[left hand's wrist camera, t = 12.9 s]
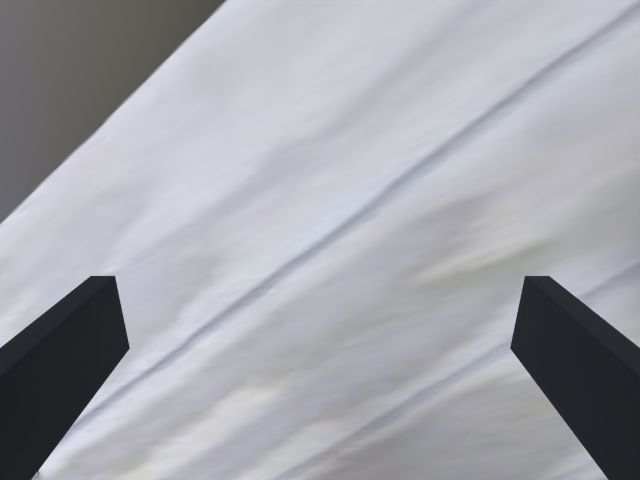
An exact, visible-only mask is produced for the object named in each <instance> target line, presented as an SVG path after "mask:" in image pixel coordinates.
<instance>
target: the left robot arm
mask: <svg viewBox="0 0 640 480" xmlns="http://www.w3.org/2000/svg"><path fill="white" fill-rule="evenodd" d="M129 349H130V348H129V343H128V338H127V333H126V328H125V323H124V318H123V313H122V308H121V304H120V299H119V294H118V289H117V284H116V279H115V276H90V277H89V278H88V279H87V280H85V281H84V282H83V283H82V284H80V285H79V286H78V287H77V288H75V289H74V290H73V291H71V292H70V293H69V294H68V295H66V296H65V297H64V298H63V299H61V300H60V301H59V302H58V303H56V304H55V305H54V306H53V307H51V308H50V309H49V310H48V311H46V312H45V313H44V314H43V315H41V316H40V317H39V318H38V319H36V320H35V321H34V322H32V323H31V324H30V325H29V326H27V327H26V328H25V329H24V330H22V331H21V332H20V333H19V334H17V335H16V336H15V337H14V338H12V339H11V340H10V341H9V342H7V343H6V344H5V345H4V346H2V347H1V348H0V480H31V479H32V478H33V477H34V475H35V474H36V473H37V471H38V470H39V469H40V467H41V466H42V465H43V463H44V462H45V461H46V459H47V458H48V457H49V455H50V454H51V453H52V451H53V450H54V449H55V447H56V446H57V445H58V443H59V442H60V441H61V439H62V438H63V437H64V435H65V434H66V433H67V431H68V430H69V429H70V427H71V426H72V425H73V423H74V422H75V421H76V419H77V418H78V417H79V415H80V414H81V413H82V411H83V410H84V409H85V407H86V406H87V405H88V403H89V402H90V401H91V399H92V398H93V397H94V395H95V394H96V393H97V391H98V390H99V389H100V387H101V386H102V385H103V383H104V382H105V381H106V379H107V378H108V377H109V375H110V374H111V373H112V371H113V370H114V369H115V367H116V366H117V365H118V363H119V362H120V361H121V359H122V358H123V357H124V355H125V354H126V353H127V351H128V350H129ZM510 349H511V350H512V351H513V353H514V354H515V355H516V357H517V358H518V359H519V361H520V362H521V363H522V365H523V366H524V367H525V369H526V370H527V371H528V373H529V374H530V375H531V377H532V378H533V379H534V381H535V382H536V383H537V385H538V386H539V387H540V389H541V390H542V391H543V393H544V394H545V395H546V397H547V398H548V399H549V401H550V402H551V403H552V405H553V406H554V407H555V409H556V410H557V411H558V413H559V414H560V415H561V417H562V418H563V419H564V421H565V422H566V423H567V425H568V426H569V427H570V429H571V430H572V431H573V433H574V434H575V435H576V437H577V438H578V439H579V441H580V442H581V443H582V445H583V446H584V447H585V449H586V450H587V451H588V453H589V454H590V455H591V457H592V458H593V459H594V461H595V462H596V463H597V465H598V466H599V467H600V469H601V470H602V471H603V473H604V474H605V475H606V477H607V478H608V479H609V480H640V348H639V347H638V346H636V345H635V344H634V343H633V342H631V341H630V340H629V339H628V338H626V337H625V336H624V335H623V334H621V333H620V332H619V331H618V330H616V329H615V328H614V327H613V326H611V325H610V324H609V323H608V322H606V321H605V320H604V319H602V318H601V317H600V316H599V315H597V314H596V313H595V312H594V311H592V310H591V309H590V308H589V307H587V306H586V305H585V304H584V303H582V302H581V301H580V300H579V299H577V298H576V297H575V296H574V295H572V294H571V293H570V292H569V291H567V290H566V289H565V288H563V287H562V286H561V285H560V284H558V283H557V282H556V281H555V280H553V279H552V278H551V277H550V276H525V279H524V284H523V289H522V294H521V299H520V304H519V308H518V313H517V318H516V323H515V328H514V333H513V338H512V343H511V348H510Z"/></svg>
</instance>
